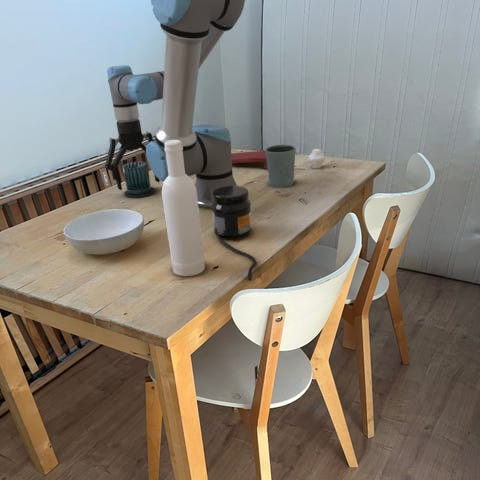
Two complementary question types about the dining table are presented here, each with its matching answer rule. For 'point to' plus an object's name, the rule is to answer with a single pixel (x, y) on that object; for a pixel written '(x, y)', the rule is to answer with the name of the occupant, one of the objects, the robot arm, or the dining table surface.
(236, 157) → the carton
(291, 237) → the dining table surface
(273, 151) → the green plant pot
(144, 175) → the teal ridged cylinder
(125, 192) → the coaster
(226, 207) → the supplement container
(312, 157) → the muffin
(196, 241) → the bottle
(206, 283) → the dining table surface
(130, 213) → the serving bowl
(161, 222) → the dining table surface
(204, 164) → the robot arm
